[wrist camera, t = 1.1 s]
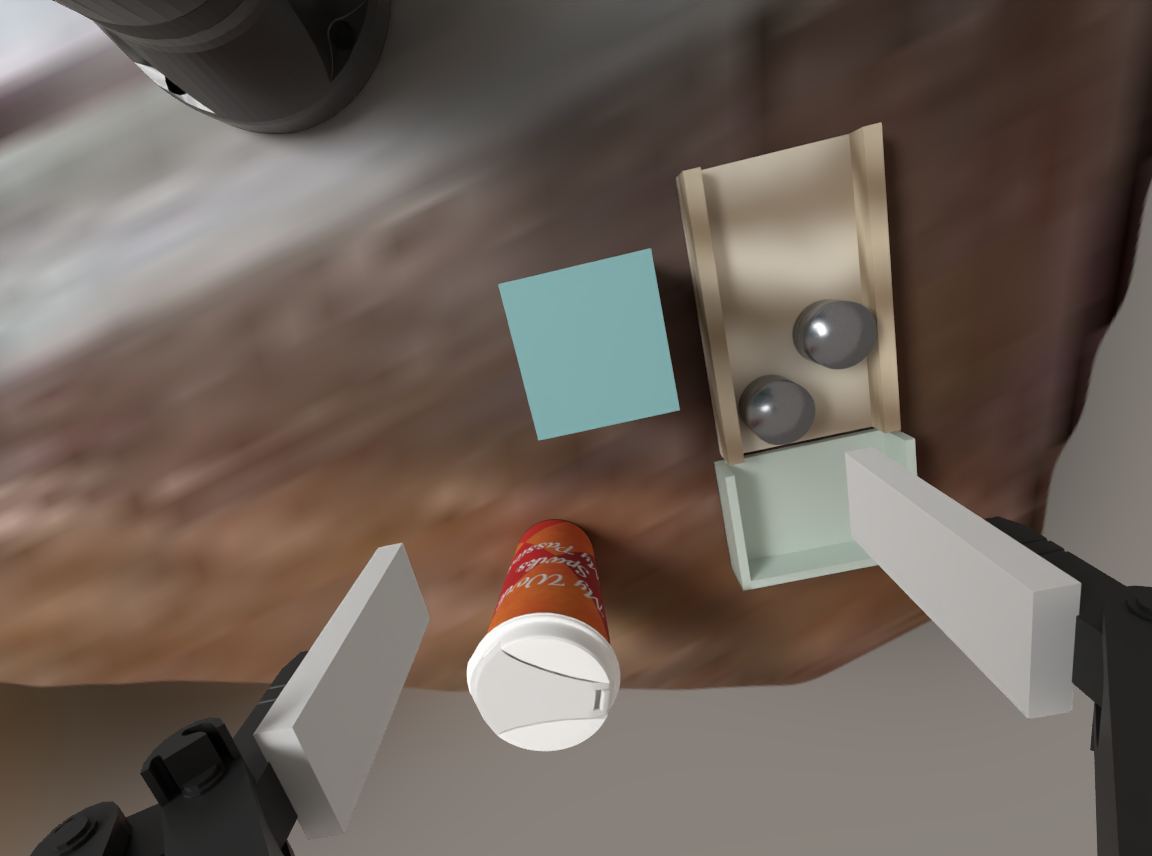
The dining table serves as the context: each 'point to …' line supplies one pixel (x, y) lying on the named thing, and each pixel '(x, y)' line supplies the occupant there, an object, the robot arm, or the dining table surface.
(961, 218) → the dining table surface
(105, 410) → the dining table surface
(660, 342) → the teal tall block
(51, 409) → the dining table surface
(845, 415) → the slot board
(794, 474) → the tray
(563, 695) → the paper cup
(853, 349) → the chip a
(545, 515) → the dining table surface
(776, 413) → the chip
